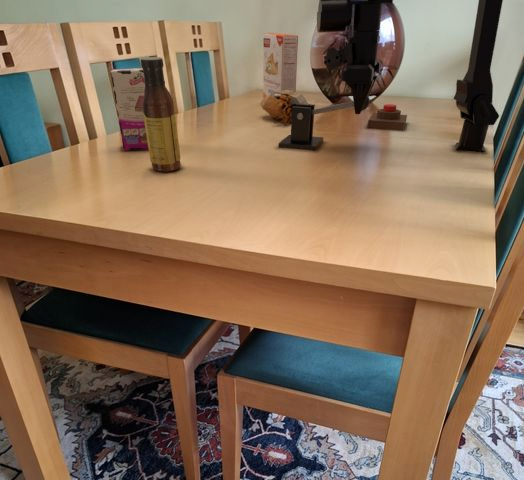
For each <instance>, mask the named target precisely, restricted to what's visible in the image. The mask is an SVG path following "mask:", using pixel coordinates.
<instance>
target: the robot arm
mask: <svg viewBox="0 0 524 480" xmlns="http://www.w3.org/2000/svg"><path fill="white" fill-rule="evenodd" d="M393 2H394V0H353V1H352V0H318V7H317V11H316V31H317V33H340V32H341V33H342V32H343V33H344V32H345V31H346V29H347V27H350V26H351V25H352V29H351V37H349V39H348V43H347V46H345V47H343V48H339V49H338V48H337V47H336V46H335V45H333V46H332V47H330V48H328V49H327V50H326V55H324V56H323V64H324V65H325V66H326V71H327V73H329V72H332V71H333V70H336V69H337V68H339V67H341V66H344V65H346V66H345V67H344V68H343V69H342V71H341V82H345V84H347V85H348V87H349V88H350V89H351V93H352V101H354V107H353V109H354V114H355V115H360V114H361V112H362V111H361V110H362V108H363V106H364V103H365V101H366V98H367V96H368V97H369V98H370V94H371V92H372V91H373V88H374V85H375V83H376V81H377V79H378V77H379V76H378V75H374V73H376V74H379V73H381V68H382V67H381V66H382V62H381V61H380V60H379V58H378V49H379V43H380V40H381V36H380V30H381V19H382V11H383V5H384V4H392V3H393ZM503 2H504V0H478V3H477V8H476V9H477V10H476V16H475V17H476V18H475V23H474V29H473V35H472V36H473V37H472V40H471V41H472V42H471V48H470V55H469V60H468V67H467V71H466V73H465V75H464V77H463V79H457V80H456V83H455V87H456V88H455V89H456V90H455V93H454V96H453V100H455V105H456V108H457V109H458V110H459V115H460V119H463V123H462V128H461V131H460V136H459V140H458V142H456V143H455V151H458V152H469V153H470V152H471V153H482V154H484V153H486V148H485V146H484V144H485V141H486V137H487V135H488V130H489V127H490V126H494V125H495V124H496V122H497V121H498V119H499V118H500V114H499V113H498V111H497V110H496V108H495V106H494V104H493V94H494V83H493V79H492V72H491V69H492V64H493V63H492V62H493V57H494V51H495V45H496V41H497V34H498V29H499V24H500V17H501V13H502V6H503Z"/></svg>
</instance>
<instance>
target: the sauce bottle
mask: <svg viewBox="0 0 524 480" xmlns="http://www.w3.org/2000/svg"><path fill="white" fill-rule="evenodd" d="M140 66H141V67H140V68H142V69H143V73H144V80H145V82H144V83H145V91H144V102H143V107H142V111H143V117H144V123H145V129H146V136H147V142H148V148H149V149H148V154H149V160H150V163H151V167H152V169H153V170H155V171H157V172H162V173H167V172H168V173H169V172H173V171H177V170H179V169H180V168H181V151H180V144H179V134H178V127H177V119H176V118H177V117H176V112H175V106H174V105H175V104H174V100H173V97H172V95H171V92H170V91H169V90H168V88H167V87H166V80H165V74H164V59H163V57H160V56H147V57H142V58H140Z"/></svg>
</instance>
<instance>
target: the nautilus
mask: <svg viewBox="0 0 524 480" xmlns="http://www.w3.org/2000/svg"><path fill="white" fill-rule="evenodd" d="M296 104H309V102H308V101H307V99H306V97H305V96H304V95H303V94H302V93H301V92H297V91H296V92H293V91H291V90H288V89H287V90H283V91H279V92H274V93H272V94H270V95H268V96H267V97H265V98H264V99H263V98H262V99H261V101H260V107H261V108H262V110H264V111H265V112H266V113H267V114H268V115H269V116H270V117H271V118H272V119H275V118H276V120H278V119H282V120H281V121H280V122H279V121H278V126H281V125H287V126H289V123H291V119H292V107H293V106H295V107H296ZM279 123H280V124H279Z"/></svg>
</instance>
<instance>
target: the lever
mask: <svg viewBox="0 0 524 480" xmlns="http://www.w3.org/2000/svg"><path fill="white" fill-rule="evenodd" d="M370 103H371V100H370V96H369V97H368V96H367V98H366V101H365V103H364V106H363V108H362V110H361V112H363V111H366V110H367V109H368V107H369V106H370ZM348 108H354V101H353V100H352V101H347V102H342V103H338V104H333V105H329V106H322V107H319V108H315V109H313V110H311V115H314V116H315V115H318V114H323V113H324V114H325V113H329V112H333V111H338V110H344V109H348Z"/></svg>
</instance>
